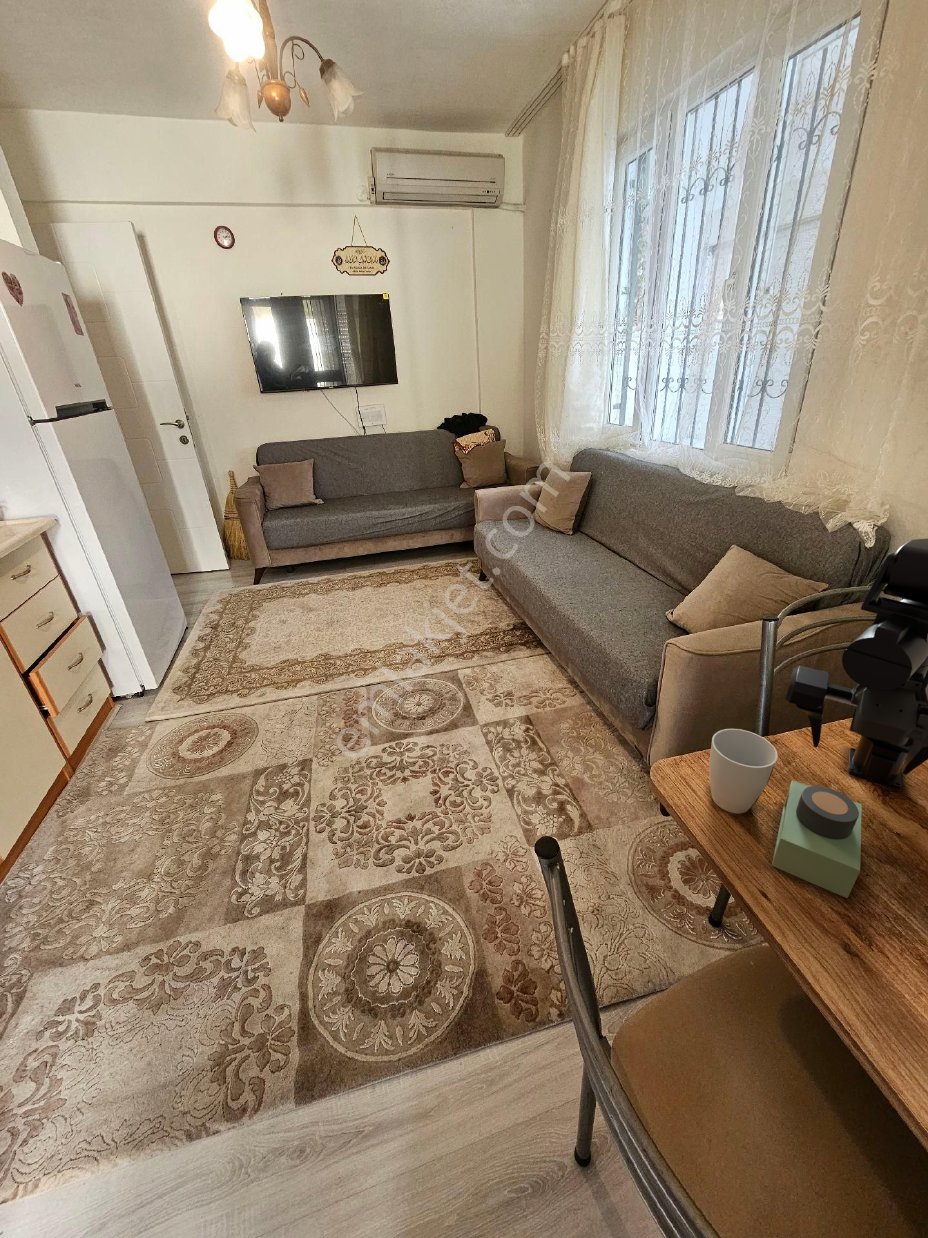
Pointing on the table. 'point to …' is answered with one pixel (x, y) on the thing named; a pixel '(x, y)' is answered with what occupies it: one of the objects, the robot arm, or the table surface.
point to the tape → (827, 812)
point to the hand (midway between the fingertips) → (857, 758)
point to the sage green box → (816, 850)
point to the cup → (739, 768)
